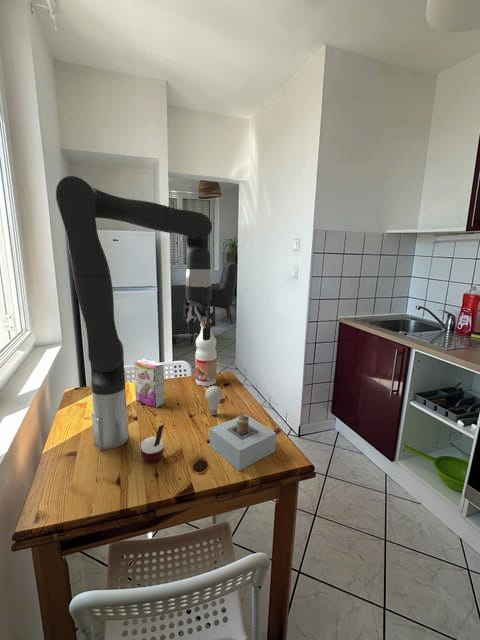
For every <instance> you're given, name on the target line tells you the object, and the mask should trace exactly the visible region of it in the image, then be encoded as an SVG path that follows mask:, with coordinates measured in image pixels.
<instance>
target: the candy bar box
mask: <svg viewBox="0 0 480 640" xmlns="http://www.w3.org/2000/svg"><path fill="white" fill-rule="evenodd" d="M164 370H165V369H164V364H163V363H160V362H156V361H153V360H149V359H147V358H141V359H138V360H135V361H134V377H135V396H136V397H135V398H136V401H138V402H139V403H143V404H145V405H148V406H150V407H152V408H154V409H155V408H156V409H157V408H159V407H161V406H163V405H164V404H165V378H164V377H165V376H164V373H165V371H164Z"/></svg>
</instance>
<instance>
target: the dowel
mask: <svg viewBox="0 0 480 640" xmlns="http://www.w3.org/2000/svg"><path fill="white" fill-rule="evenodd" d="M247 416H248V415H247ZM247 416H245V414H240V415H237V416H236V418H237V434H239V435H240V436H244V435H246V434H248V421H249V418H248V417H247Z"/></svg>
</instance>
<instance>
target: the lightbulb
mask: <svg viewBox="0 0 480 640" xmlns="http://www.w3.org/2000/svg"><path fill="white" fill-rule="evenodd" d="M204 395H205V399H206V401H207V402H208V407H209V410H210V411H209V413H210V415H212V416H216V415H217V414H218V409H219V404H220V401H221V400H222V398H223V391H222V389H221V388H220V387H219V386H217V385H212V386H208V388H207V389H206V390H205V394H204Z"/></svg>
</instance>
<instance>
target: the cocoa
mask: <svg viewBox="0 0 480 640" xmlns="http://www.w3.org/2000/svg"><path fill="white" fill-rule="evenodd" d="M164 425H165V424H162V425H159V426H158V429H157V432H156V436H153V435H152V436H149V437H147V438H145V439H143V440H142V441H141V442H140V445H139V446H140V453H141V456H142V458H143V460H144V461H145V462H147V463H155V462H157V461H159V460H161V458H162V457H163V456H164V451H165V450H164V448H165V446H164V442H163V439H162V434H163V430H164V427H165V426H164Z"/></svg>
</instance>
